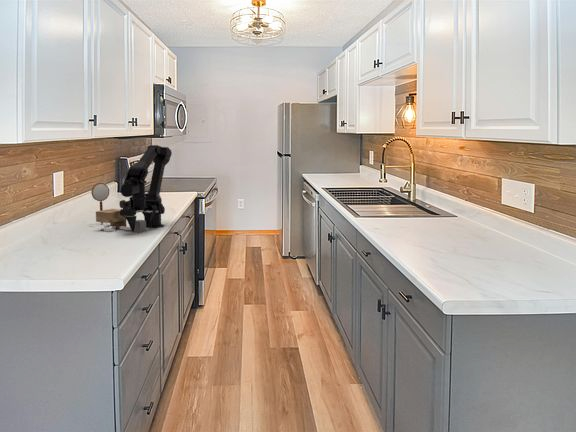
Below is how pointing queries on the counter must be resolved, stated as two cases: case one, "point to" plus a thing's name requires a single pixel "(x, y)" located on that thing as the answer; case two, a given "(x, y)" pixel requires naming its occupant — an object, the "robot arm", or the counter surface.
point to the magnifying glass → (100, 193)
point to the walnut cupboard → (111, 217)
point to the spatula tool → (137, 226)
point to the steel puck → (109, 228)
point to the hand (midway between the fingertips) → (139, 229)
